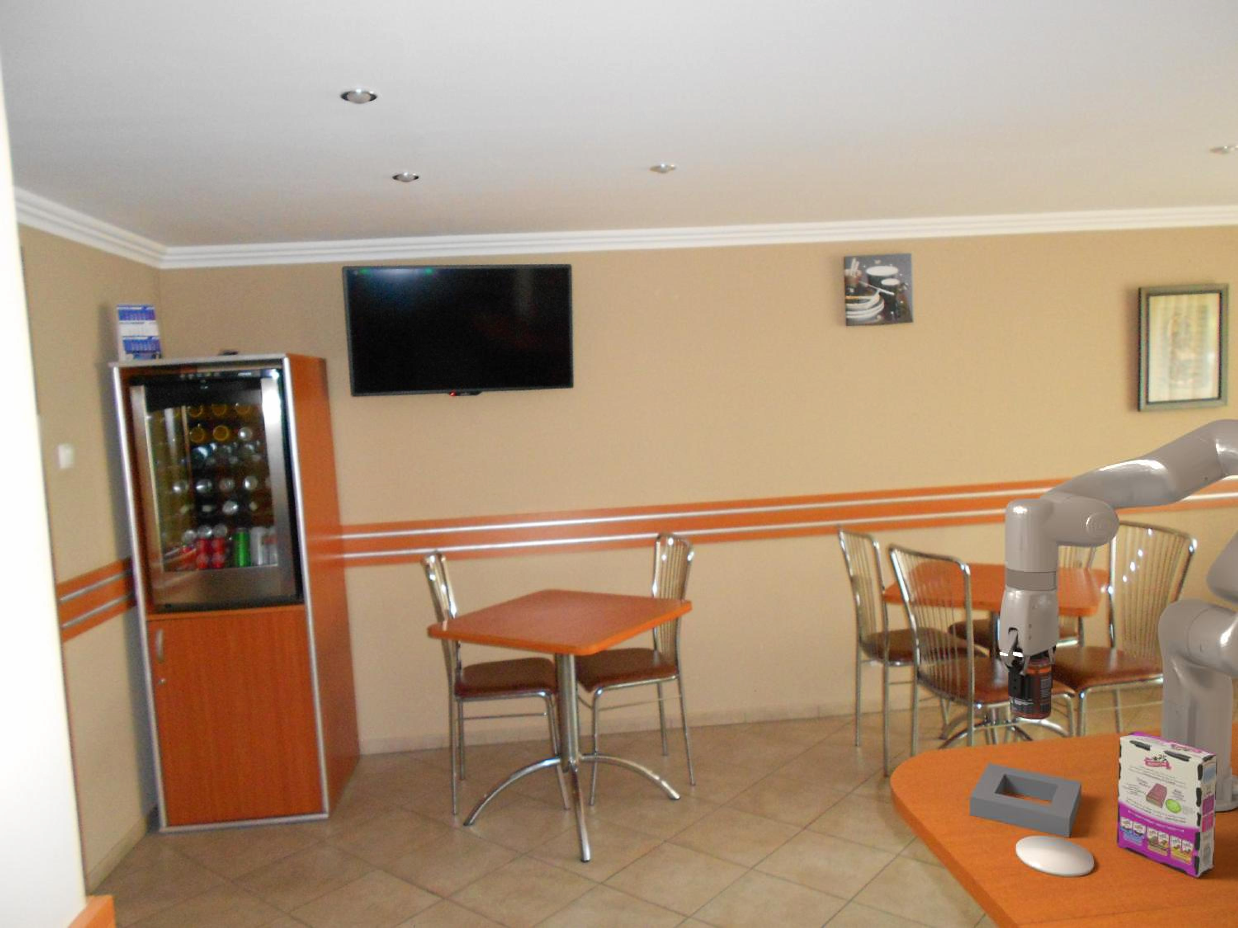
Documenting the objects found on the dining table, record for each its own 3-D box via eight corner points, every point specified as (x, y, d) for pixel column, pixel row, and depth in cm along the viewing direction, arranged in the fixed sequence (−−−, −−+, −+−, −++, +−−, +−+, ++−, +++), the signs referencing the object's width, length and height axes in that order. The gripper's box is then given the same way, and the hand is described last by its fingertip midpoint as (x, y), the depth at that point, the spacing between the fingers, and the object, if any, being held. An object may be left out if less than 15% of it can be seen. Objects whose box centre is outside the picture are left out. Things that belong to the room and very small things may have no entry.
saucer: (1097, 850, 132) (1097, 846, 132) (1089, 884, 123) (1089, 879, 123) (1022, 833, 137) (1022, 829, 137) (1009, 863, 129) (1009, 859, 129)
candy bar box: (1215, 868, 127) (1220, 753, 125) (1197, 879, 124) (1202, 762, 122) (1132, 835, 136) (1136, 728, 134) (1114, 845, 133) (1118, 736, 131)
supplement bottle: (1053, 710, 145) (1054, 640, 144) (1048, 723, 140) (1049, 651, 138) (1012, 704, 148) (1013, 636, 147) (1006, 717, 143) (1007, 646, 142)
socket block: (1081, 799, 147) (1081, 781, 147) (1068, 837, 136) (1069, 818, 135) (988, 780, 155) (988, 762, 155) (969, 814, 143) (969, 796, 143)
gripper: (1037, 566, 150) (1036, 674, 151) (977, 584, 139) (977, 699, 141) (1083, 574, 144) (1082, 685, 146) (1024, 593, 133) (1023, 713, 135)
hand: (1030, 691), depth 143 cm, fingers closed on supplement bottle, 6 cm apart
